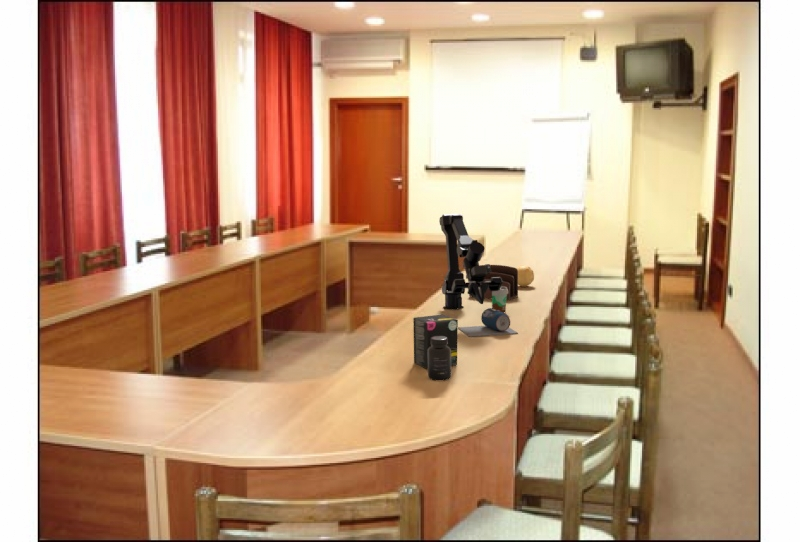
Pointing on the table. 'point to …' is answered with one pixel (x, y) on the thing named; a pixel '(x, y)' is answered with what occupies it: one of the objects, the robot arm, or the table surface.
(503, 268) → the letter holder
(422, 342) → the tampon box
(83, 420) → the table surface
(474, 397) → the table surface
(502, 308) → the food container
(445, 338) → the supplement bottle
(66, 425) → the table surface
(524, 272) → the stress ball
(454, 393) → the table surface
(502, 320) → the soda can
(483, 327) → the mat
